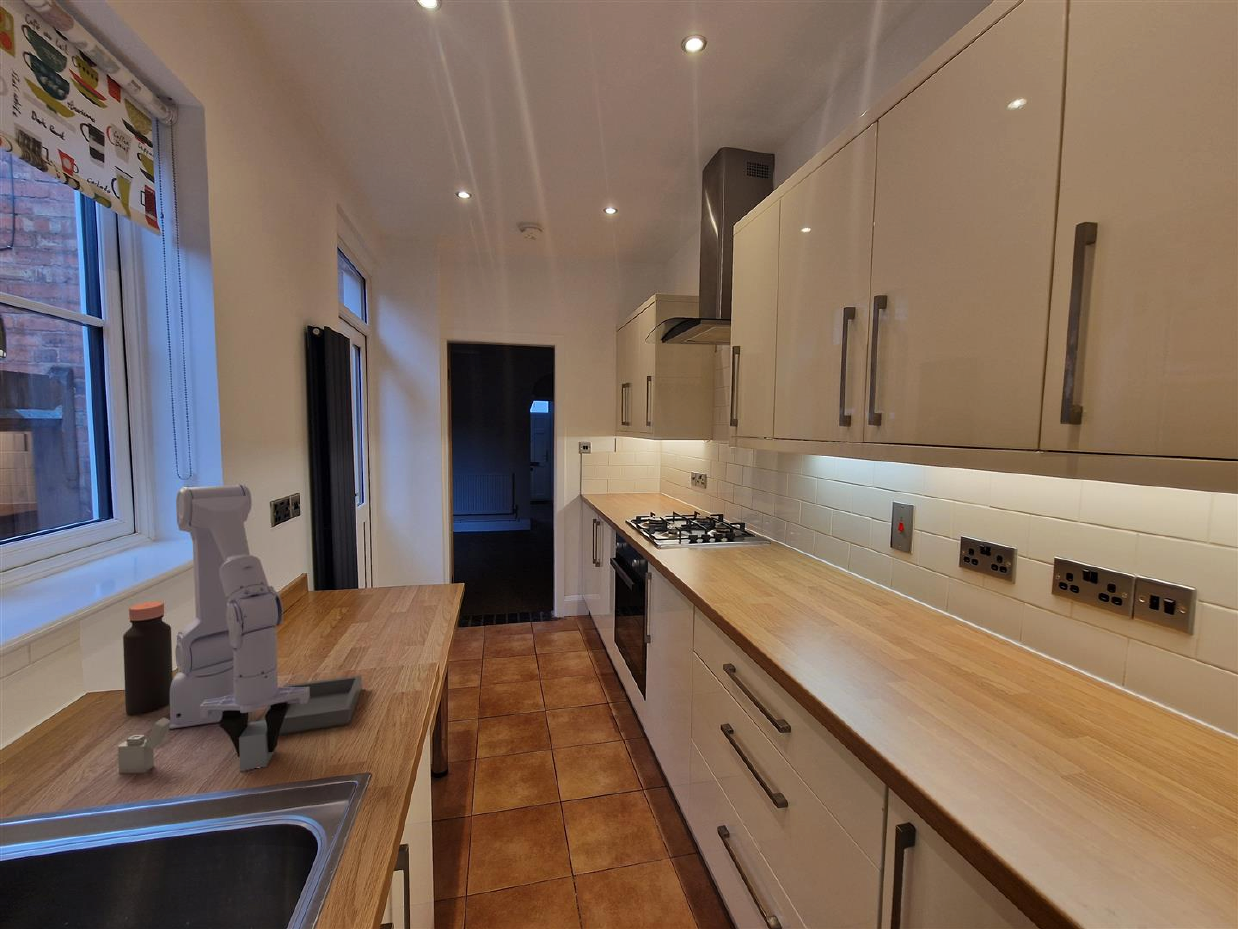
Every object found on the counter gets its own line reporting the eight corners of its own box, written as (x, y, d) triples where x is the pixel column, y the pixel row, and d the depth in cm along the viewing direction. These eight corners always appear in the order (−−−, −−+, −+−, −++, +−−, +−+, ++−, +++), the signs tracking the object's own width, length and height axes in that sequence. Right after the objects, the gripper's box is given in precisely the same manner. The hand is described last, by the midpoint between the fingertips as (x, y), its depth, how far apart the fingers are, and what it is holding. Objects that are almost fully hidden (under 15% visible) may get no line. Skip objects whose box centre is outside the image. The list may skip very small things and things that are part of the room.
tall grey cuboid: (240, 771, 79) (239, 737, 78) (250, 754, 83) (250, 722, 83) (266, 767, 80) (265, 733, 80) (275, 750, 84) (274, 719, 84)
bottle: (155, 695, 102) (152, 598, 101) (182, 699, 100) (179, 601, 99) (116, 713, 95) (112, 609, 94) (144, 717, 94) (140, 612, 93)
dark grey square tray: (259, 738, 87) (258, 722, 87) (284, 699, 101) (284, 685, 100) (349, 725, 92) (348, 709, 92) (361, 689, 105) (361, 675, 105)
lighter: (117, 773, 78) (116, 723, 78) (128, 766, 80) (126, 717, 80) (164, 772, 78) (162, 723, 78) (173, 765, 80) (172, 716, 80)
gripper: (188, 687, 75) (191, 776, 75) (300, 674, 79) (302, 757, 80) (210, 667, 81) (212, 748, 82) (312, 655, 86) (313, 733, 86)
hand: (258, 751), depth 81 cm, fingers closed on tall grey cuboid, 3 cm apart
